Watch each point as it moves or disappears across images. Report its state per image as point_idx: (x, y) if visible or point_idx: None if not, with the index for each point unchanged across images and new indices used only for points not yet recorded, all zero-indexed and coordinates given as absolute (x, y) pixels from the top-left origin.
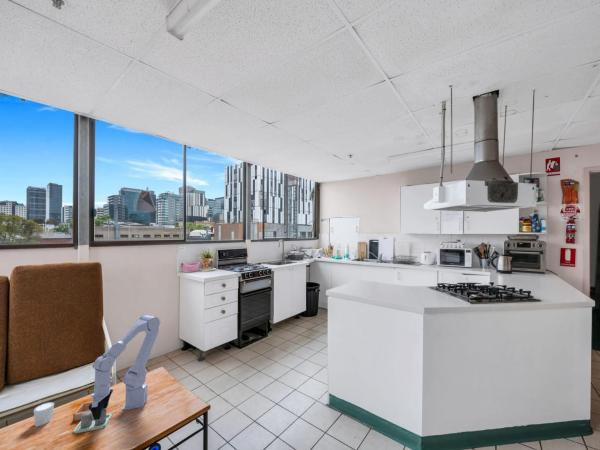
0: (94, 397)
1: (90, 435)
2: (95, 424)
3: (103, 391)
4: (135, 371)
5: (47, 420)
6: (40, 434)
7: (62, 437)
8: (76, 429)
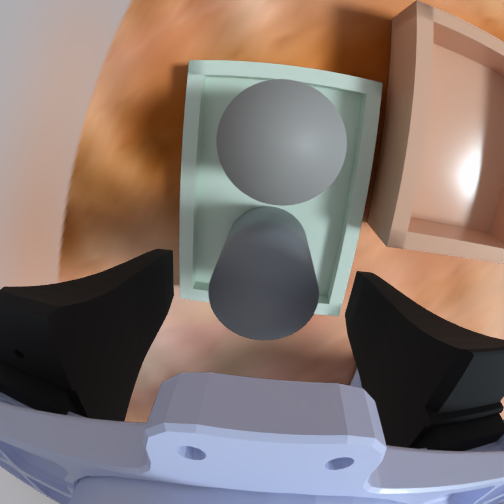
0: (70, 458)
1: (137, 210)
2: (241, 217)
3: None
4: None
5: None
6: None
7: (193, 8)
8: (226, 76)
